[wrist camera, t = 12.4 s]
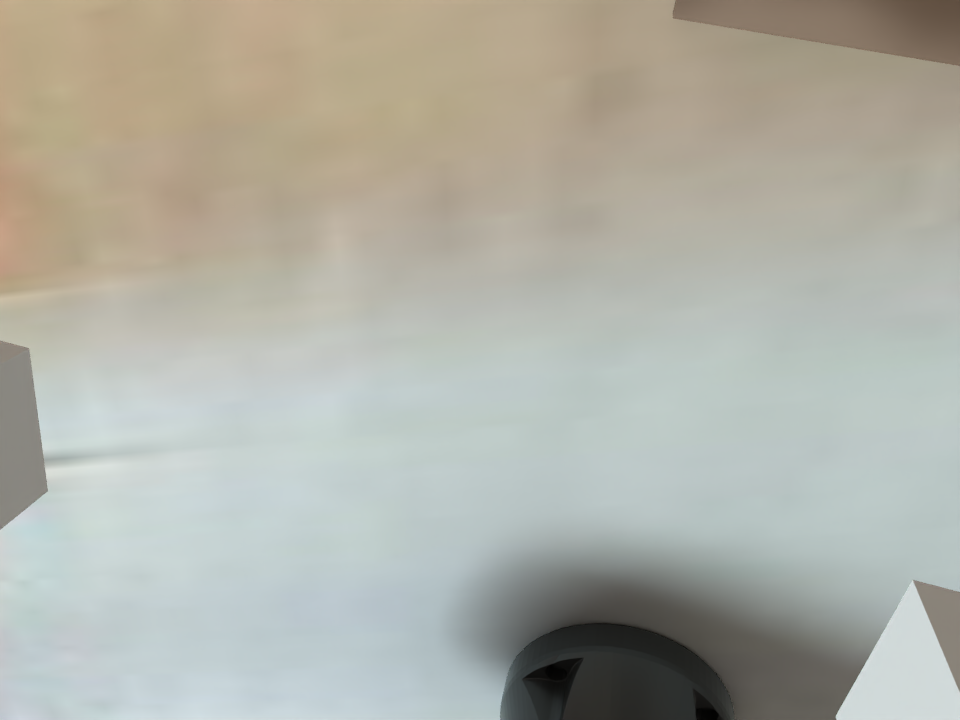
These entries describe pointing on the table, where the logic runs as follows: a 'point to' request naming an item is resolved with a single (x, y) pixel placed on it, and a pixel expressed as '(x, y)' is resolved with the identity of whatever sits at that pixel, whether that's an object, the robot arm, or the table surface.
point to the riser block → (843, 23)
